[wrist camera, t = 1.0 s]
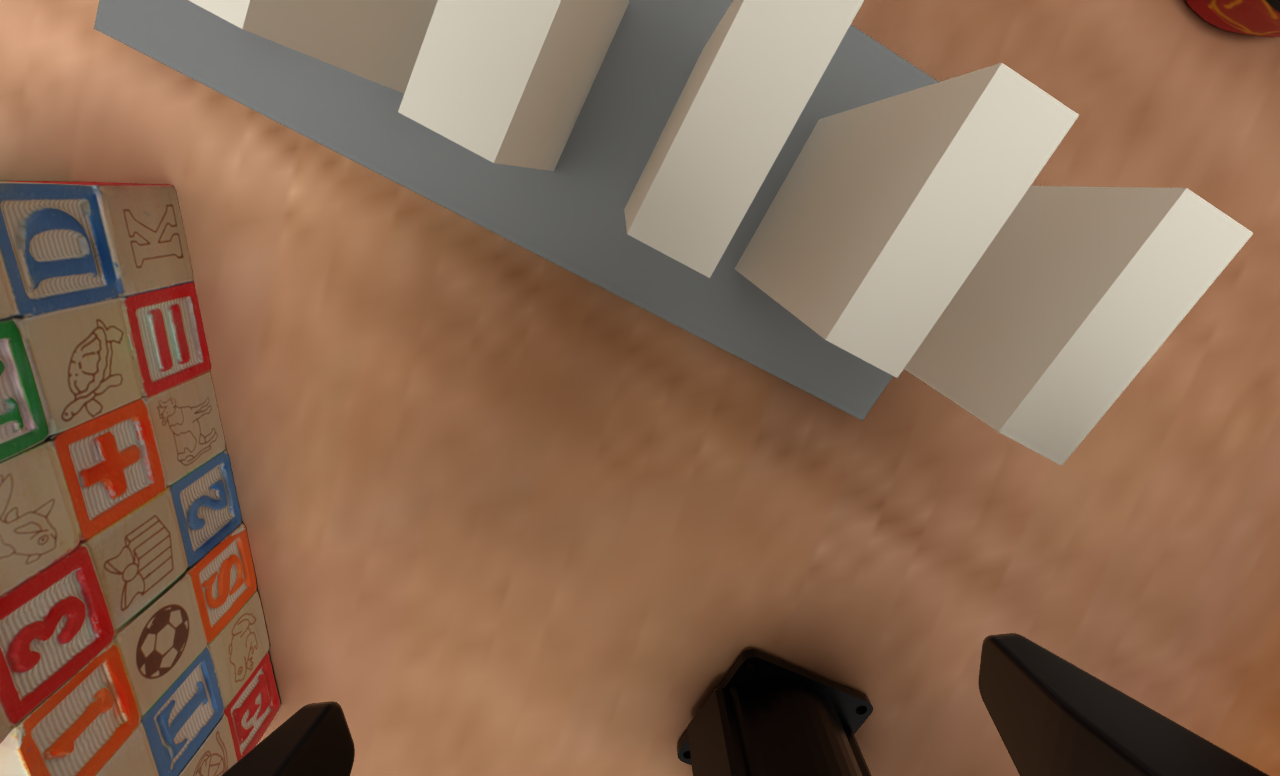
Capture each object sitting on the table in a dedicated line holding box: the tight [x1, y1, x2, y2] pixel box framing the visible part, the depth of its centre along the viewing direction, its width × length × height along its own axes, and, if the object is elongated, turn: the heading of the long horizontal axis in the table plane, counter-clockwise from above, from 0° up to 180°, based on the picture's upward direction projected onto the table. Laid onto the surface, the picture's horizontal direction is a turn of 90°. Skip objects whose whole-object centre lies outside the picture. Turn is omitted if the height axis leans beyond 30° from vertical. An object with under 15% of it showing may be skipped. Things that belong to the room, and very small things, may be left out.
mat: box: [94, 0, 938, 421], centre depth 18 cm, size 26×10×1 cm, turn 62°
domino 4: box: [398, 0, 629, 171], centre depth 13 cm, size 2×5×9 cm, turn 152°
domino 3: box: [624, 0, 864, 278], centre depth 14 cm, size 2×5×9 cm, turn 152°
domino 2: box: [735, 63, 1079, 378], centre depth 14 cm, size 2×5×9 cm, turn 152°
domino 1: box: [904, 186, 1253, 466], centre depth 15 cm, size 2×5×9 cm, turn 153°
